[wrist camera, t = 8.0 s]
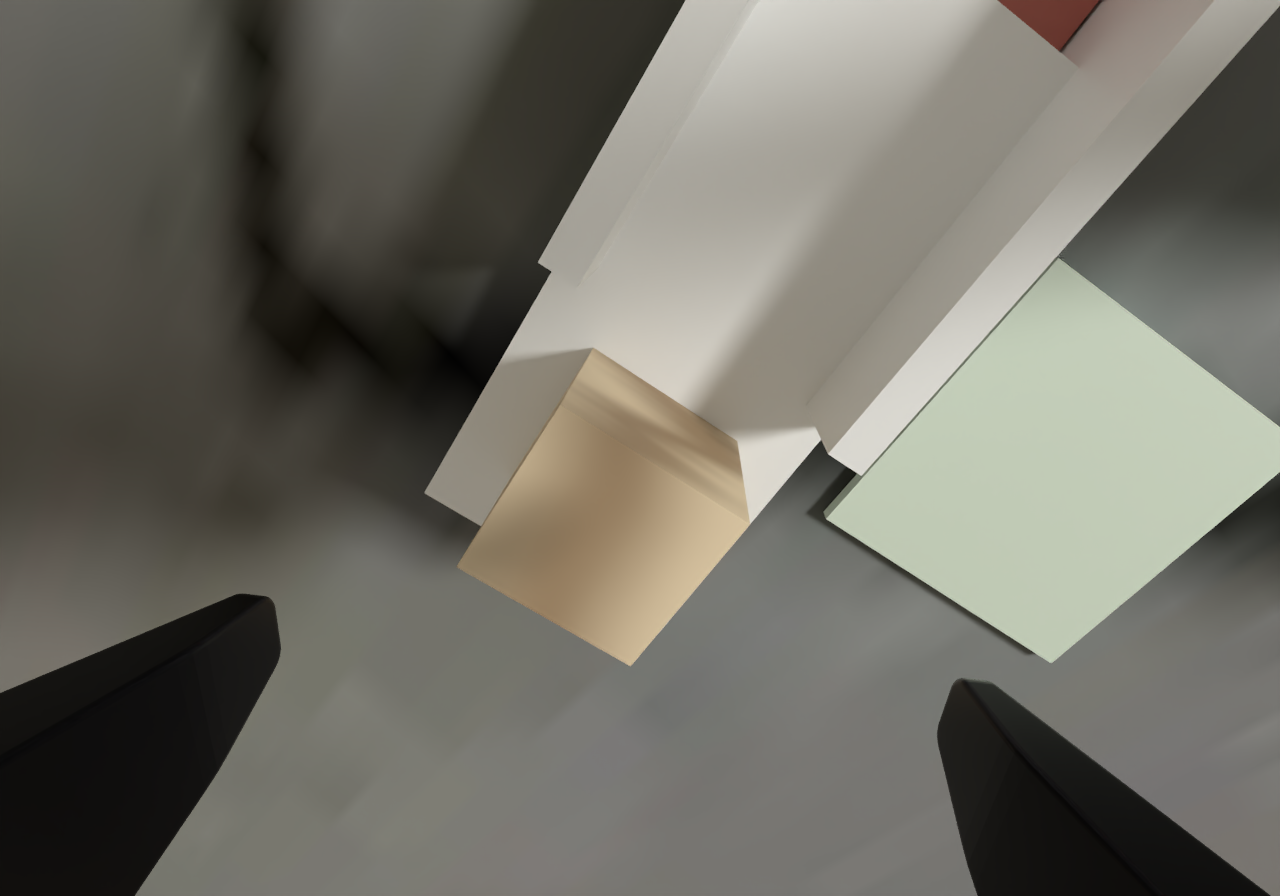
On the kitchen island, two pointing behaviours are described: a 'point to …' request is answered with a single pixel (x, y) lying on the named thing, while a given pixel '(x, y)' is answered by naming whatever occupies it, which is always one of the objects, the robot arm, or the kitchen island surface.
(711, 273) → the trap channel
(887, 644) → the kitchen island surface
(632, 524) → the maple block
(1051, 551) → the sage pad
